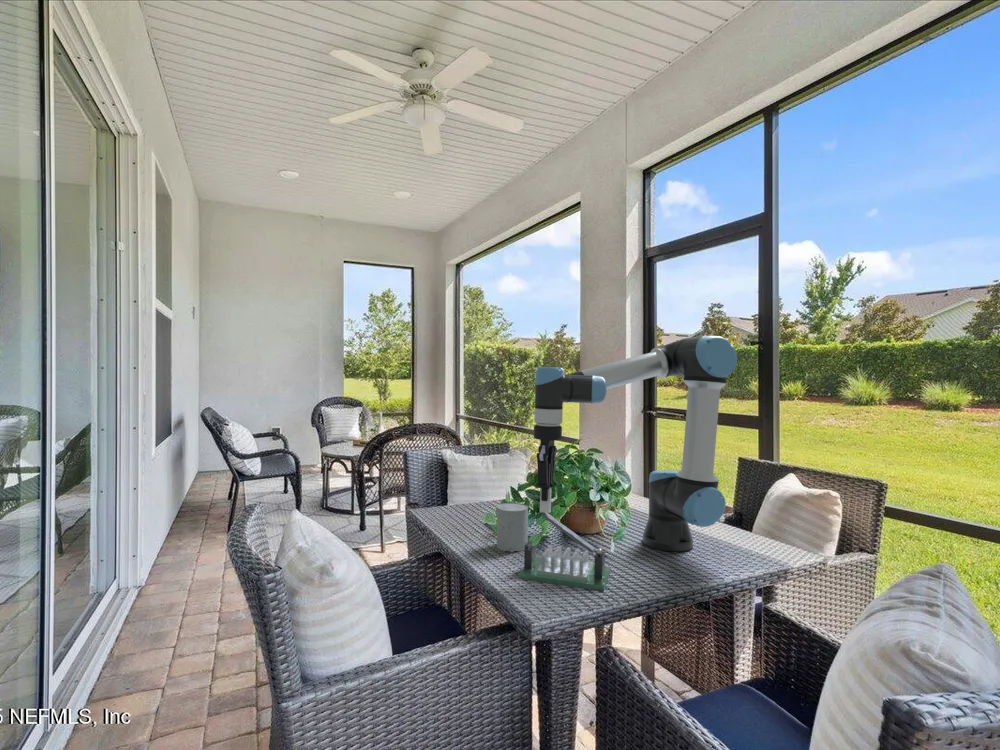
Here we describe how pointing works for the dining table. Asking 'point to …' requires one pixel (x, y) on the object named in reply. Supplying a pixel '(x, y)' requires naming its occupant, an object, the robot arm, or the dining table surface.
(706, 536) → the dining table surface
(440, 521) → the dining table surface
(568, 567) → the heatsink board
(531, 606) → the dining table surface
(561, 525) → the grey hinged clamp bar
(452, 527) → the dining table surface
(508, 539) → the grey cylinder
